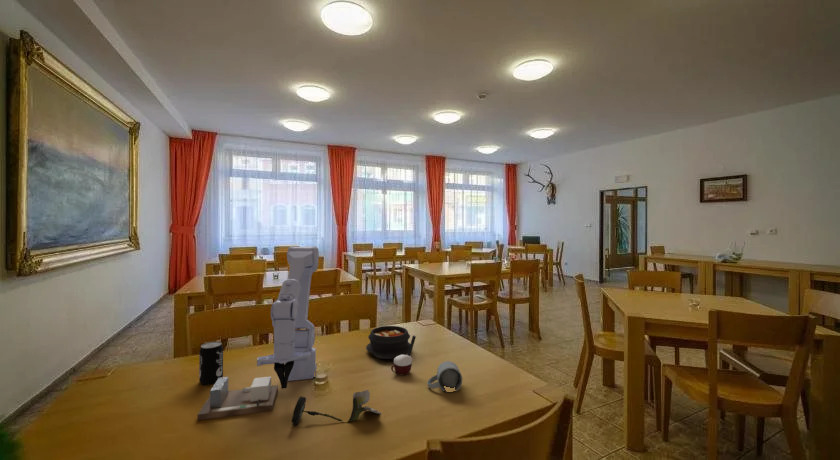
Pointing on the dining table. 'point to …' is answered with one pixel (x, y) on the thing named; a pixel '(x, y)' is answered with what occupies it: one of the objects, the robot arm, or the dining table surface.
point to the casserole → (388, 342)
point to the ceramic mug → (446, 376)
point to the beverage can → (210, 363)
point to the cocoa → (404, 361)
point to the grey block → (219, 393)
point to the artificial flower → (358, 401)
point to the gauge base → (238, 405)
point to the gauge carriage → (259, 389)
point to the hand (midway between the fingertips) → (284, 386)
